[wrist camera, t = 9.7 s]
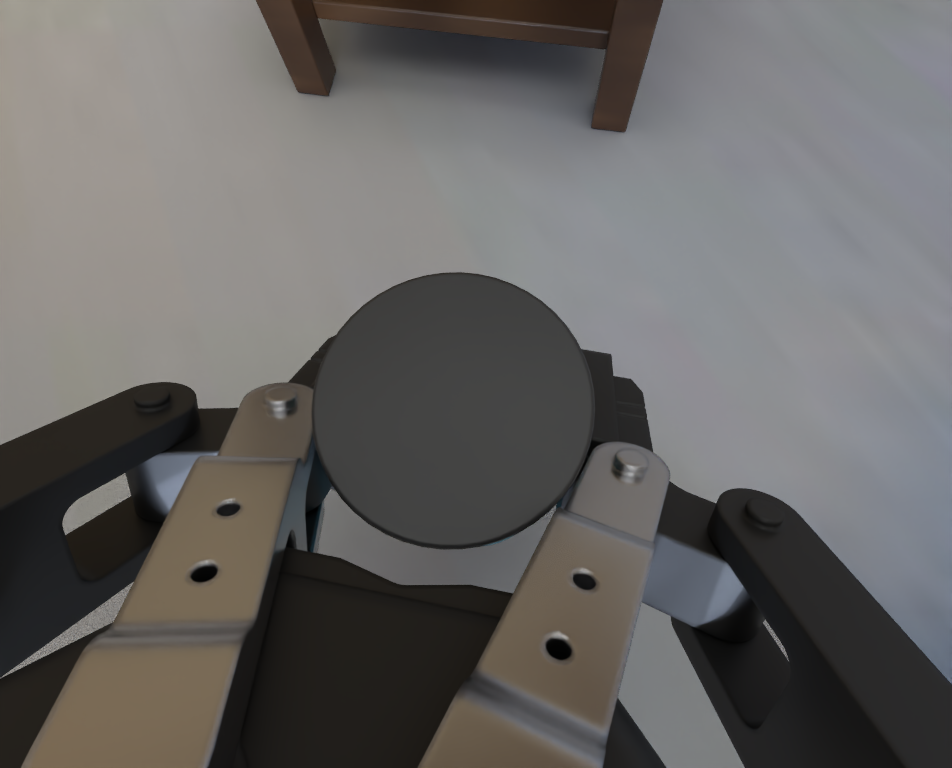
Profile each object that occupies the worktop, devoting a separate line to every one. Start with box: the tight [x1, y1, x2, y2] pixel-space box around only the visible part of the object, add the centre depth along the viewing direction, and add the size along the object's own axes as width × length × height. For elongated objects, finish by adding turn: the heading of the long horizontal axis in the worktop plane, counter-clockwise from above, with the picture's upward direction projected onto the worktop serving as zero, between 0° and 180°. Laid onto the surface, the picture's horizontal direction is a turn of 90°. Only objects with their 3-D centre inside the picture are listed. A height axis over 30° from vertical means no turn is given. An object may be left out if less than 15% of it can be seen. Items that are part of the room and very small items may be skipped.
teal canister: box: [311, 272, 595, 549], centre depth 12 cm, size 4×4×9 cm
